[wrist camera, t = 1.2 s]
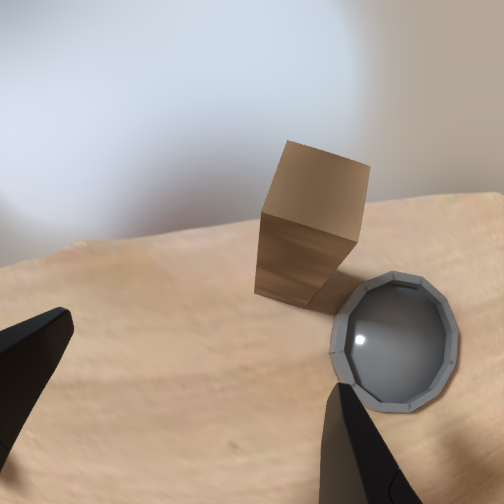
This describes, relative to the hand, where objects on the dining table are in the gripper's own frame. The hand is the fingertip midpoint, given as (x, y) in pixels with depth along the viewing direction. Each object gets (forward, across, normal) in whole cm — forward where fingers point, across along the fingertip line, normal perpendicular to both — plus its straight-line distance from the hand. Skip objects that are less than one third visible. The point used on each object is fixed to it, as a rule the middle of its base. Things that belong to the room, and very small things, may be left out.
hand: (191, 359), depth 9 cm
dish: (+13, -13, +8) cm, 20 cm away
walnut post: (+15, -3, +6) cm, 17 cm away
